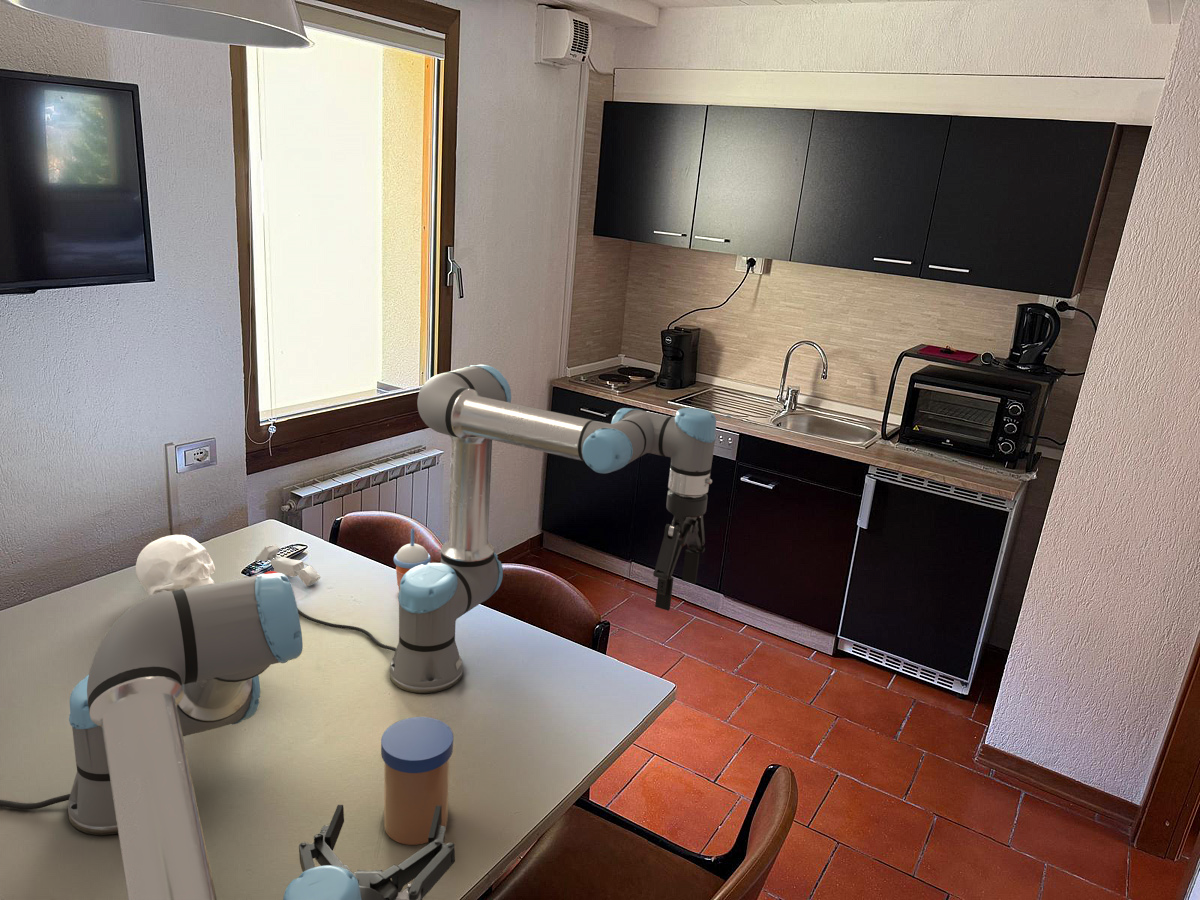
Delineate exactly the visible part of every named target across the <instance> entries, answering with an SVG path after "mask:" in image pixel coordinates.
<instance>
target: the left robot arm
mask: <svg viewBox="0 0 1200 900" xmlns="http://www.w3.org/2000/svg"><path fill="white" fill-rule="evenodd" d="M264 573H265V572H264ZM264 573H263V572H262V573H261V572H260V573H258V574H256V575H257V576H255V575H252V576H247V577H241V578H236V579H230V580H225V581H224V580H223V581H219V582H214V583H213V584H207V585H202V586H196V587H191V588H185V589H180V590H174V591H165V592H161V593H156V594H154V595H151V596H150V595H149V596H147V597H144V598H143V599H141V600H140V601H137V602H135V604H133V605H132V606H130V607H128V608H127V609H126V610H125V611H124V612H123V613H122V614H121V615H120V616H119V617H118V618H117V619H116V621H115V622H114V623H113V624H112V625H111V626H110V627H109V629H108V630H107V632H106V634H105V635H104V636H103V638H102V640H101V642H100V644H99V646H98V647H97V649H96V651H95V653H94V656H93V659H92V662H91V666H90V668H89V672H88V674H87V675H85V676H84V678H83V679H82V680H80V681H79V682H78V683H77V684H76V685H75V686H74V687H73V689H72V691H71V693H70V696H69V715H68V721H69V724H70V726H71V728H72V738H73V747H74V748H73V749H74V758H75V765H76V774H75V777H74V779H73V783H72V787H71V792H70V793H68V794H63V795H59V796H56V797H51V798H48V799H46V800H45V799H44V800H42V801H38V802H28V803H27V802H19V801H18V802H16V801H13V800H7V799H5V800H4V799H0V807H1V808H8V809H14V810H27V811H28V810H29V811H30V810H37V809H43V808H46V807H48V806H52V805H56V804H59V803H63V802H67V801H68V802H67V812H68V814H67V815H68V819H69V822H70V825H72V826H73V828H75V829H76V830H78V831H80V832H83V833H85V834H89V835H94V836H96V835H97V836H108V835H116V834H118V840H119V846H120V854H121V860H122V867H123V874H124V880H125V886H126V894H127V900H218V898H217V893H216V888H215V884H214V878H213V874H212V868H211V865H210V861H209V860H210V859H209V855H208V850H207V846H206V841H205V835H204V831H203V827H202V821H201V817H200V812H199V807H198V803H197V797H196V793H195V787H194V783H193V778H192V773H191V769H190V763H189V759H188V758H189V757H188V754H187V750H186V749H187V748H186V744H185V740H184V737H188V736H191V735H194V734H195V735H196V734H199V733H202V732H206V731H210V730H214V729H219V728H222V727H226V726H230V725H231V726H232V725H237V724H239V723H241V722H244V721H246V720H249V719H251V718H252V717H253V716H254V715H255V714H256V713H257V711H258V708H259V706H260V697H261V684H260V676H259V675H261V674H262V673H264V672H265V671H266V670H267V669H268V668H270V666H271V665H275V664H279V663H280V664H285V663H288V662H289V661H291V660H295V659H297V658H299V657H300V656H301V654H302V652H303V649H304V648H303V643H304V642H303V634H302V633H303V632H302V626H301V621H300V615H299V614H298V609H299V608H298V605H297V600H296V596H295V592H294V589H293V586H292V583H291V580H290V579H289V576H287V575H284V574H282V573H272V574H264ZM297 608H298V609H297ZM344 810H345V809H344V804H337V806H336V808H335V811H334V813H333V816H332V817H331V820H330V823H329V825H328V824H324V825H323V826H322V827H321V828H320V831H319V833H316V834H315V835H314V836H313V842H312V843H309V842H307V841H303V842H300V843H299V844H298V853H299V854H298V855H299V864H300V868H301V873H300V875H299V876H298V877H297V878H294V879H292V880H291V881H290V882H289V884H288V885H287V887H286V888H285V890H284V894H283V899H282V900H423V899H424V898H425V897H426V896H427V895H428V893H429V892H430V891H431V889H432V888H433V887H434V886H435V885H436V884H437V883H438V882H439V881H440V880H441V878H442V877H443V876H444V875H445V874H446V873H447V872H448V871H449V869H451V868H452V866H453V865H454V863H455V862H456V844H455V843H454V842H448V843H446V838H447V836H446V835H447V833H446V831H447V827H446V828H445V826H441V823H442V814H441V806H436V807H435V812H434V816H433V820H432V824H431V828H430V832H429V836H428V842H427V845H425V846H424V847H422V848H421V849H419V850H418V851H416V852H415V853H413V854H412V855H411V856H409V857H407V858H406V859H405V860H403V861H402V862H400V863H398V864H393V865H390V867H388V868H387V869H385V870H383V869H373V870H372V869H371V870H366V869H357V870H356V871H352V870H351V869H350V867H349V866H348V865H347V864H346V863H345V864H344V863H343V862H342V861H341V860H340V858H339V857H338V856H337V855H336V853H335V852H334V849H335V846H336V844H337V841H338V838H339V836H340V834H341V831H342V828H343V825H344V823H345V812H344ZM314 859H315V860H316V862H317V863H318V864H319V865H318V866H315V862H314ZM410 882H411V883H410ZM405 886H406V888H405V889H404V887H405ZM403 889H404V890H403ZM402 890H403V891H402Z"/></svg>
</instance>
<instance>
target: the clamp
mask: <svg viewBox="0 0 1200 900" xmlns="http://www.w3.org/2000/svg"><path fill="white" fill-rule="evenodd" d="M280 549H281V547H279V546H278V545H277V544H272V545H266V546H264V547H263V549H262V550H261V551H260V552H259V554H258V555H257V556H256V557H255V559H254V562H255V563H256V561H259V560H262V561H268V560H271V562H270V563H269V564H271V565H272V566H273V568H274V571H275V572H278V573H282V574H284V575H286V576H287V577H292V578H296V577H298V578H299V579H300V580H301V582H303V584H304V585H305V587H309V586H312V585H314V584H316V583H318V582H319V580H320V579H321V578H322V577H321V575H320V574H319V573H318V572H317V570H315V569H314V568H313V566H312V565H310V564H309V565H308V564H307V563H305V562H304V561H303V560H301V559H300V560H299V559H292V558H289V557H285V556H278V553H279V551H280ZM273 558H274V559H273ZM272 559H273V560H272ZM305 566H306V567H305ZM270 571H271V570H270Z"/></svg>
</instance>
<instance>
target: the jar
mask: <svg viewBox="0 0 1200 900" xmlns="http://www.w3.org/2000/svg"><path fill="white" fill-rule="evenodd" d="M383 762H384V761H383ZM383 764H384V767H383V768H384V769H383V772H384V773H383V775H384V778H383V779H384V780H383V781H384V783H383V786H384V787H383V789H384V790H383V791H384V794H383V797H384V798H383V800H384V801H383V805H384V806H383V809H384V810H383V811H384V813H383V817H384V818H383V827H384V831H385V833H386V835H387V836H388V837H389V838H391V840H393V841H395V842H396V843H399V844H402V845H409V846H417V845H422V844H426V843H427V844H428V836H429V832H430V828H431V824H432V820H433V816H434V812H435V807H436V806H441V814H442V823H441V826H445V828H446V829H447V825H448V819H449V790H450V789H449V787H450V759H449V760H448V761H447V762H446V763H444V764H443V765H442V766H440V767H438V768H436V769H434V770H431V771H427V772H422V773H405V772H400V771H397V770H395V769H393V768H391V767H389V766H388V765H387V764H386V763H385V762H384V763H383Z"/></svg>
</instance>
